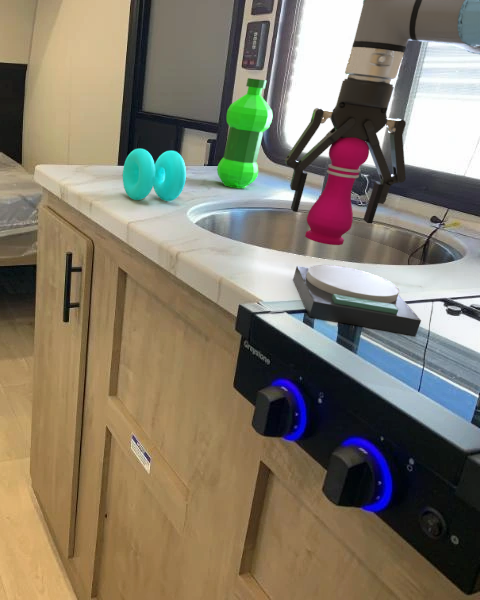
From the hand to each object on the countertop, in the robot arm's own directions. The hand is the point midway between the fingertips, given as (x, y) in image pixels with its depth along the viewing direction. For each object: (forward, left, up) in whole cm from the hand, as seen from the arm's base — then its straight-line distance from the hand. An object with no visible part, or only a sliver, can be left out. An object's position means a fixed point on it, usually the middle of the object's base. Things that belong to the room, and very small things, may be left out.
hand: (330, 215), depth 101 cm
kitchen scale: (+2, +30, -5) cm, 31 cm away
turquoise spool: (+31, -15, -5) cm, 35 cm away
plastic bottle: (+13, -47, -5) cm, 49 cm away
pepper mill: (0, 0, -5) cm, 5 cm away
